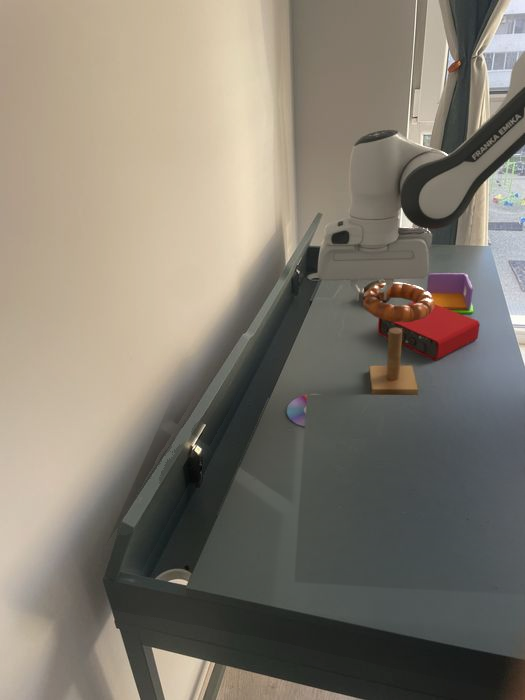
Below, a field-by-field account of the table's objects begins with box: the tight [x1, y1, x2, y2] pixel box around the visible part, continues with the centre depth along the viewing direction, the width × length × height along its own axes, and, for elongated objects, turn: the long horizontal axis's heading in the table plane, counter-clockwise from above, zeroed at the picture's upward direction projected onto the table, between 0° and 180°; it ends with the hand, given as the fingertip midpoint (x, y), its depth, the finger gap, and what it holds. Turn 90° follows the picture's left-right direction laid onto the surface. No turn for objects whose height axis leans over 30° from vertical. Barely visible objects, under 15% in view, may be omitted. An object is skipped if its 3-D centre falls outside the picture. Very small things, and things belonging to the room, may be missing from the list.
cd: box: [286, 393, 323, 428], centre depth 104 cm, size 11×11×1 cm
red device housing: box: [377, 301, 481, 362], centre depth 125 cm, size 18×14×5 cm
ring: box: [362, 282, 435, 322], centre depth 101 cm, size 13×13×3 cm
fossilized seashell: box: [362, 279, 391, 303], centre depth 145 cm, size 8×7×10 cm
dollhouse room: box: [426, 272, 475, 315], centre depth 139 cm, size 12×12×7 cm
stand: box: [368, 328, 419, 396], centre depth 108 cm, size 9×9×12 cm
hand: (370, 299), depth 101 cm, fingers closed on ring, 3 cm apart
